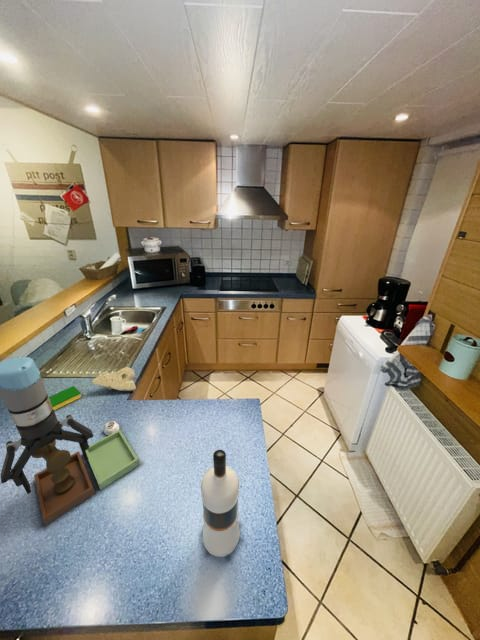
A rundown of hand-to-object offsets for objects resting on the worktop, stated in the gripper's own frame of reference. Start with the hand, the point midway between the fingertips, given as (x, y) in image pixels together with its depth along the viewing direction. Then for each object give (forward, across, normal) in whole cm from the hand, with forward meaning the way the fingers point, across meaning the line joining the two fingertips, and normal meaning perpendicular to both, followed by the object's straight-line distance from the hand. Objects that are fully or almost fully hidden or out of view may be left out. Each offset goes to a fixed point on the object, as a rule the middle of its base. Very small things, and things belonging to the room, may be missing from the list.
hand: (59, 472), depth 70 cm
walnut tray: (+6, 0, 0) cm, 6 cm away
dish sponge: (+7, +6, +41) cm, 42 cm away
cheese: (+7, +26, +33) cm, 42 cm away
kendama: (+6, 0, 0) cm, 6 cm away
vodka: (+6, +26, -40) cm, 48 cm away
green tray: (+6, +13, 0) cm, 14 cm away
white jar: (+7, +17, +12) cm, 22 cm away
